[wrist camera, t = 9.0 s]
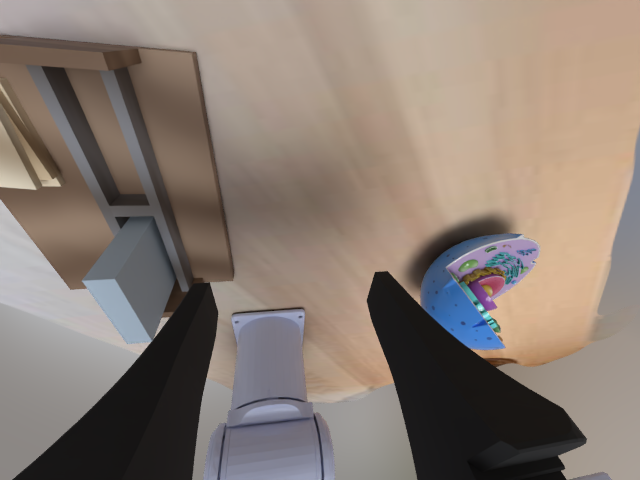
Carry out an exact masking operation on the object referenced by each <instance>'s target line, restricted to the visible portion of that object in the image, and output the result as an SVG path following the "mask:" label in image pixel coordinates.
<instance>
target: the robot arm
mask: <svg viewBox="0 0 640 480" xmlns="http://www.w3.org/2000/svg"><path fill="white" fill-rule="evenodd" d="M367 304H368V308H369V312H370V316H371V320H372V323H373V326H374V328H375V331H376V334H377V336H378V339H379V342H380V344H381V347H382V349H383V352H384V355H385V357H386V360H387V362H388V365H389V368H390V371H391V374H392V376H393V380H394V383H395V386H396V391H397V394H398V397H399V401H400V405H401V409H402V413H403V417H404V420H405V425H406V429H407V433H408V437H409V442H410V446H411V450H412V455H413V460H414V464H415V470H416V474H417V479H418V480H566V478H565V476H564V475H563V474H562V472H561V470H564V469H565V467H564V465H563V463H562V462H561V460H560V459H559V457H558V455H561V454H563V453H566V452H568V451H570V450H573V449H575V448H578V447H580V446H582V445H584V444H585V443H586V440H587V439H586V437H585V436H584V435H583V434H582V432H581V431H580V430H579V428H578V427H577V426H576V424H575V423H574V422H573V421H572V419H571V418H570V417H569V416H568V414H567V413H566V412H565V410H564V409H563V408H561V407H560V406H558V405H556V404H554V403H553V402H551V401H549V400H548V399H546V398H544V397H542V396H541V395H539V394H537V393H535V392H534V391H532V390H530V389H528V388H527V387H525V386H524V385H522V384H520V383H519V382H517V381H516V380H514V379H513V378H511V377H509V376H508V375H506V374H505V373H503V372H502V371H500V370H499V369H497V368H496V367H494V366H493V365H491V364H490V363H489V362H487V361H486V360H484V359H483V358H482V357H480V356H479V355H477V354H476V353H475V352H473V351H472V350H471V349H469V348H468V347H467V346H465V345H464V344H463V343H462V342H460V341H459V340H458V339H457V338H456V337H454V336H453V335H452V334H451V333H449V332H448V331H447V330H446V329H445V328H444V327H442V326H441V325H440V324H439V323H438V322H437V321H436V320H435V319H434V318H433V317H431V316H430V315H429V314H428V313H427V312H426V311H425V310H424V309H423V308H422V307H421V306H420V305H419V304H418V303H417V302H416V301H415V300H414V299H413V298H412V297H411V296H410V295H409V294H408V292H407V291H406V290H405V289H404V288H403V287H402V286H401V285H400V284H399V283H398V282H397V281H396V280H395V279H394V278H393V277H392V275H391V274H390V273H389V272H388V271H385V272H375V274H374V277H373V281H372V284H371V288H370V291H369V295H368V298H367ZM304 319H305V311H304V310H303V309H293V310H280V311H267V312H253V313H240V314H234V315H232V318H231V320H232V325H233V329H234V334H235V338H236V343H237V356H236V366H235V375H234V385H233V395H232V405H231V410H229V411H228V418H227V425H226V423H220V424H219V425H218V427H217V428H216V429H215V430H214V432H213V433H212V435H211V438H210V441H209V446H208V451H207V456H206V463H205V470H204V477H203V480H335V464H334V453H333V447H332V440H331V436H330V431H329V428H328V425H327V423H326V421H325V420H324V419H323V418H322V416H321V415H320V414H319V413H313V406H312V402H308V401H307V391H306V381H305V372H304V362H303V352H302V345H303V332H304ZM217 321H218V310H217V306H216V303H215V299H214V296H213V292H212V289H211V286H210V282H209V283H194V284H193V285H192V286H191V287H190V289H189V290H188V292H187V294H186V295H185V297H184V298H183V300H182V301H181V303H180V304H179V306H178V307H177V308H176V310H175V311H174V313H173V314H172V316H171V317H170V318H169V320H168V321H167V322H166V324H165V325H164V326H163V328H162V329H161V330H160V332H159V333H158V334H157V336H156V337H155V338H154V339H153V341H152V342H151V343H150V344H149V346H148V347H147V348H146V349H145V351H144V352H143V353H142V354H141V355H140V357H139V358H138V359H137V360H136V361H135V363H134V364H133V365H132V366H131V367H130V368H129V369H128V371H127V372H126V373H125V374H124V375H123V376H122V377H121V378H120V379H119V380H118V382H117V383H116V384H115V385H114V386H113V387H112V388H111V389H110V390H109V391H108V392H107V393H106V394H105V395H104V396H103V397H102V398H101V399H100V400H99V401H98V402H97V403H96V404H95V405H94V406H93V407H92V408H91V409H90V410H89V411H88V412H87V413H86V414H85V415H84V416H83V417H82V418H81V419H80V420H79V421H78V422H77V423H76V424H75V425H73V426H72V427H71V428H70V429H69V430H68V431H67V432H66V433H65V434H64V435H63V436H61V437H60V438H59V439H58V440H57V441H56V442H55V443H54V444H53V445H52V446H51V447H49V448H48V449H47V450H46V451H45V452H44V453H43V454H42V455H41V456H39V457H38V458H37V459H36V460H35V461H34V462H33V463H31V464H30V465H29V466H28V467H27V468H25V469H24V470H23V471H22V472H21V473H20V474H18V475H17V476H16V477H15V478H14V479H13V480H192V474H193V465H194V456H195V446H196V439H197V430H198V423H199V414H200V407H201V401H202V396H203V391H204V386H205V382H206V377H207V373H208V369H209V364H210V360H211V356H212V351H213V347H214V342H215V338H216V330H217ZM570 480H611V478H610V477H609V476H608V474H607V473H604V472H600V473H595V474H591V475H586V476H582V477H578V478H574V479H570Z"/></svg>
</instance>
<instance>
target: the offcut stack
mask: <svg viewBox="0 0 640 480" xmlns="http://www.w3.org/2000/svg"><path fill="white" fill-rule="evenodd" d="M65 183H66V182H65V180H64V178H63V176H62V175H61V173H60V171H59V169H58V168H57V166H56V164H55V162H54V161H53V159H52V157H51V155H50V154H49V152H48V150H47V148H46V147H45V145H44V143H43V141H42V140H41V138H40V136H39V134H38V133H37V131H36V129H35V127H34V126H33V124H32V122H31V120H30V119H29V117H28V115H27V113H26V112H25V110H24V108H23V106H22V105H21V103H20V101H19V99H18V98H17V96H16V94H15V92H14V91H13V89H12V87H11V85H10V84H9V82H8V80H7V79H6V78H0V187H7V188H19V189H32V190H37V189H39V188H40V187H42V186H62V185H64V184H65Z"/></svg>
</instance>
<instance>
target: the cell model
mask: <svg viewBox="0 0 640 480" xmlns="http://www.w3.org/2000/svg"><path fill="white" fill-rule="evenodd" d="M539 254H540V246H539V244H538V243H537V242H536V241H535V240H532V239H529V238H525V237H524V235H523V234H512V233H507V234H494V235H486V236H480V237H476V238H472V239H469V240H465V241H463V242H461V243H458V244H456V245H454V246H452V247H450V248H449V249H447V250H446V251H444V252H443V253H442V254H441V255H439V256H438V257H437V258H436V259H435V261H434V262H433V263H432V264H431V265H430V267H429V268H428V270H427V271H426V273H425V275H424V277H423V280H422V284H421V289H420V304H421V307H422V308H423V309H424V310H425V311H426V312H427V313H428V314H429V315H430V316H431V317H433V318H434V319H435V320H436V321H437V322H438V323H439V324H440V325H441V326H442V327H444V328H445V329H446V330H447V331H448V332H449V333H451V334H452V335H453V336H454V337H456V338H457V339H458V340H459V341H460V342H462V343H463V344H464V345H465V346H467V347H468V348H469V349H477V350H496V349H503V348H506V347H505V345H504V344H503V343H502V341H503V340H502V338H501V337H500V336H497V334H496V333H495V332H498V333H500V332H501V328H500V326H499V325H498V324H497V321H496V320H495V319H493V318H491V316H490V315H489V314H488V312H487V311H490V310H494V309H496V308H497V306H496V305H495V303H494V302H493V300H494V299H495V298H497V297H499V296H500V295H502V294H504V293H505V292H507V291H508V290H510V289H511V288H512V287H514V286H515V285H516V284H517V283H519V282H520V281H521V280H522V279H523V278H524V277H525V276H526V275H527V274H528V273H529V272H530V271H531V270H532V269H533V268H534V266H535V265H536V262H534V261H533V260H535V259H536V258H538V257H539Z"/></svg>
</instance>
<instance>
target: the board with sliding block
mask: <svg viewBox="0 0 640 480" xmlns="http://www.w3.org/2000/svg"><path fill="white" fill-rule="evenodd" d="M0 78H6V79H7V80H8V82H9V84H10V85H11V87H12V89H13V91H14V92H15V94H16V96H17V98H18V99H19V101H20V103H21V105H22V106H23V108H24V110H25V112H26V113H27V115H28V117H29V119H30V120H31V122H32V124H33V126H34V127H35V129H36V131H37V133H38V134H39V136H40V138H41V140H42V141H43V143H44V145H45V147H46V148H47V150H48V152H49V154H50V155H51V157H52V159H53V161H54V162H55V164H56V166H57V168H58V169H59V171H60V173H61V175H62V176H63V178H64V180H65V182H66V183H65V184H64V185H62V186H42V187H40V188H39V189H37V190H32V189H19V188H7V187H0V199H1V200H2V202H3V203H4V204H5V206H6V207H7V208H8V209H9V211H10V212H11V213H12V215H13V216H14V217H15V218H16V220H17V221H18V222H19V224H20V225H21V226H22V227H23V229H24V230H25V231H26V233H27V234H28V235H29V237H30V238H31V239H32V240H33V242H34V243H35V244H36V246H37V247H38V248H39V249H40V251H41V252H42V253H43V255H44V256H45V257H46V258H47V260H48V261H49V262H50V264H51V265H52V266H53V268H54V269H55V270H56V271H57V273H58V274H59V275H60V277H61V278H62V279H63V280H64V282H65V283H66V284H67V286H68V287H69V288H70V290H71V289H87V287H86V286H85V285H84V283H83V282H82V280H83V279H84V277H85V276H86V275H87V273H88V272H89V271H90V269H91V268H92V267H93V265H94V264H95V263H96V261H97V260H98V259H99V257H100V256H101V255H102V253H103V252H104V251H105V250H106V248H107V247H108V246H109V244H110V243H111V242H112V240H113V239H114V238H115V236H116V235H117V234H118V232H119V231H120V230H121V228H122V227H123V226H124V224H125V223H126V222H127V221H128V219H129V218H130V217H134V216H154V218H155V221H156V223H157V226H158V229H159V231H160V234H161V237H162V239H163V242H164V245H165V247H166V250H167V253H168V255H169V258H170V261H171V263H172V266H173V269H174V271H175V274H176V277H177V278H176V281H175V283H174V286H173V289H172V291H171V294H170V296H169V299H168V302H167V304H166V307H165V310H164V312H163V315H162V318H163V317H171V316H172V314H173V313H174V311H175V310H176V308H177V307H178V306H179V304H180V303H181V301H182V300H183V298H184V297H185V295H186V294H187V292H188V290H189V289H190V287H191V286H192V285H193V284H194V283H204V282H220V281H233V278H234V269H233V263H232V257H231V252H230V246H229V240H228V234H227V229H226V223H225V217H224V211H223V206H222V200H221V194H220V188H219V183H218V177H217V171H216V165H215V160H214V154H213V148H212V142H211V137H210V131H209V125H208V119H207V113H206V108H205V102H204V96H203V90H202V85H201V79H200V73H199V67H198V62H197V56H196V52H189V51H177V50H166V49H155V48H144V47H133V46H122V45H110V44H99V43H88V42H77V41H66V40H55V39H43V38H32V37H21V36H10V35H0Z"/></svg>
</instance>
